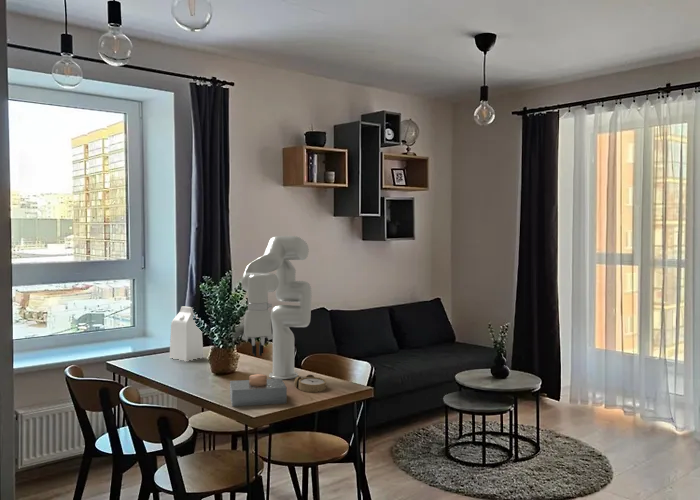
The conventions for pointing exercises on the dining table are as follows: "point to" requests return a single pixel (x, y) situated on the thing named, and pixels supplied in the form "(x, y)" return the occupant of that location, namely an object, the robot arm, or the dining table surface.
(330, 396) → the dining table surface
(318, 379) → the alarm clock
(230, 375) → the dining table surface
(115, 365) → the dining table surface
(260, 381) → the peg
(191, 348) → the milk
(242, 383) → the hitch block
